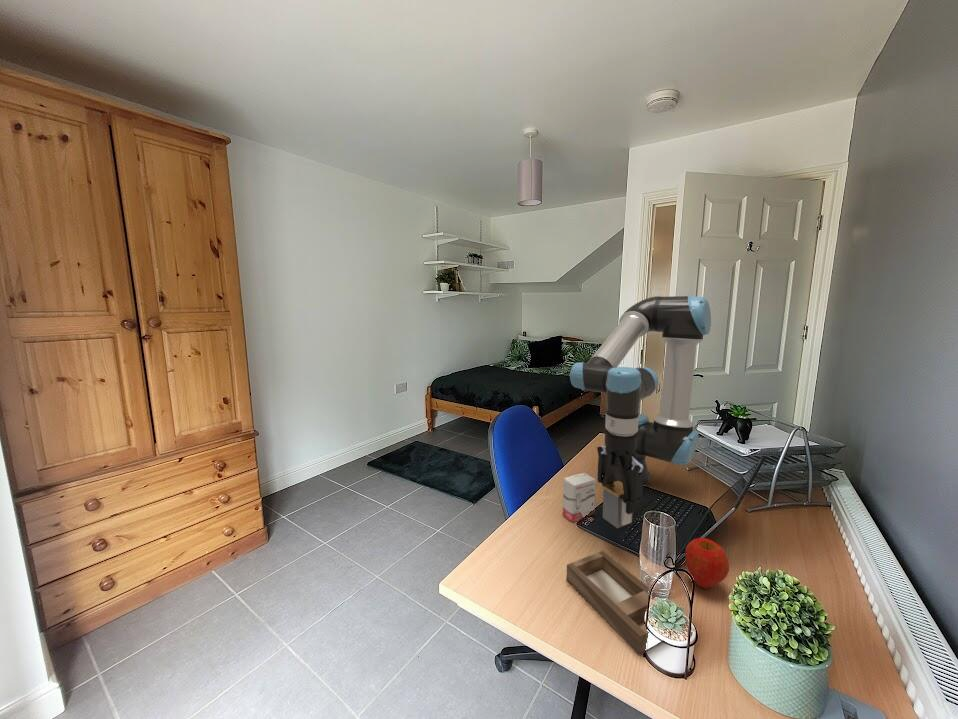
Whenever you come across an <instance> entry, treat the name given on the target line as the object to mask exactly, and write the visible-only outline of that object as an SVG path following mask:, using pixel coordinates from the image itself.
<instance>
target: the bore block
mask: <svg viewBox="0 0 958 719" xmlns="http://www.w3.org/2000/svg"><path fill="white" fill-rule="evenodd" d="M565 578H566V579H565V580H566V581H567V582H568V583H569V585H571V586H572V587H573V588H574V589H575V590H576V592H577V593H578V594H579V595H580V596H581V597H582V598H583V599H584V600H585V601H586V602H587V603H588V604H589V605H590V606H591V607H592V608H593V609H594V610H595V611H596V612H597V613H598V614H599V616H600V617H602V619H604V621H606V622H607V624H608V625H610V626H609V627H611V628H612V629H613V630H614V631H615V632H616V633H617V634H618V635H619V636H620V637H621V638H622V639H623V640H624V641H625V642H626V643H627V644H628V645H629V647H631V648H632V650H634V651H635V653H636V654H637V655H638V656H641V655H642V654H644V653H646V652H645V649H646V643H647V638H648V633H649V632H648V631H647V630H646V627H645V625H644V614H645V611H646V609H647V604H648V590H649V588H650V587H648V586H647V585H646V584H645V583H643V582H642V581H641V580H640V579H638V578H637V576H635V575H634V574H632V573H631V572H630V571H629V570H628V569H626V568H625V567H624V566H623V565H622V564H620V563H619V562H618V561H617V560H616V559H614V558H613V557H612V556H610V555H609V554H608V553H607V552H606V551H604V550H601V551H599V552H595V553H594V554H593V553H592V554H590V555H588V556H586V557H583V558H581V559H578V560H575V561H573V562H569V563H568V564H566V577H565ZM655 597H659V598H662V597H661V596H660V595H658V594H657V593H656V592H654V591H653V593H652V600H653V599H654V598H655Z"/></svg>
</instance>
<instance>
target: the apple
mask: <svg viewBox="0 0 958 719" xmlns="http://www.w3.org/2000/svg"><path fill="white" fill-rule="evenodd" d="M684 555H685V566H686V568H687V570H688V573H689V574H690V576H691V575H692V576H693V577H692V576H691V577H692V578H694V579H693V580H694V582H695V584H697V586H699V587H700V588H702V589H711V588H712V587H715V586H716V585H718V584H720V583H721V582H722V581H724V580H725V579H726V578H727V577H728V575H729V572H730V564H729V563H730V562H729V559H728V557H727V556H728V555H726V552H725V550H724V548H723V547H722V546H720V545H719V544H718V543H717V542H715V541H714V540H711V539H709V538H706V537H698V538H694V539H692V540H691V541H689V542H688V544H686V547H685V554H684Z"/></svg>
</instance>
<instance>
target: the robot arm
mask: <svg viewBox="0 0 958 719" xmlns="http://www.w3.org/2000/svg"><path fill="white" fill-rule="evenodd" d="M710 306H711V305H710V303H709V301H708V300H707V299H706V298H705V297H703V296H694V295H693V296H692V295H688V296H687V295H685V296H684V295H683V296H652V297H648V298H645V299H642V300H640V301H638V302H636V303H634V304H633V305H631V306H630V307H629V308H628V309H626V310H625V311H624V313H623V314H622V315H621V316H620V318H619V321H618V324H617V326H616V327H615V328H614V330H613V331H611V333H610V334H609V335H608V337H607V338H606V339H605V340H604V342H603V343H602V344H601V345H600V347H599V348H598V349H597V350H596V351H595V353H594V354H593V355H592V356H591V357H590V359H589V360H588V361H586V362H584V361H582V362H575V363H574V364H573V365H572V366H571V369H570V373H569V380H570V383H571V385H572V387H574V388H575V389H579V390H580V389H581V390H583V391H590V392H596V393H603V394H606V395H605V397H606V399H605V403H606V404H605V426H604V427H605V428H604V429H606V430H604V444H603V445H600V446H598V447H596V449H597V454H598V457H597V460H598V461H597V479H596V481H597V482H598V483H599V484H601V486H602V487H603V486H604V485H607V484H610V483H613V482H616V481H620V482H621V483H622V484H623V490H624V497H625V499H624V500H622V512H621V524H622V525H623V526H622V527H624V526H627V525H629V524H632V523H631V517H632V518H633V514H634V511H635V504H637V503H639V502H642V501H643V487H644V486H643V485H646V486H648V485H649V484H650V481H651V480H650V479H651V474H650V472H649V469H648V464H647V461H646V457H649V458H652V459H656V460H660V461H664V462H668V463H670V464H675V465H680V466H687V465H688V464H689V463H690V462H691V460H692V459H693V457H694V454H695V452H696V449H697V446H698V444H699V432H698V431H696V430H694V423H693V422H692V421H691V420H690V409H691V401H692V390H693V381H694V375H695V374H694V372H695V362H696V355H697V353H696V352H697V345H699V343H701V342H703V341H704V336H706V335H708V334H710V332H711V327H712V313H711V307H710ZM649 332H657V333H662V335H661V339H663V341H664V342H665V343H666V347H665V356H664V366H663V367H664V368H663V374H662V375H663V377H662V385H661V386H662V387H661V396H660V404H659V405H660V406H659V415H657V416H655V417H654V418H653V422H652V421H650V420H649V417H648V416H647V415H645V414H642V413H641V414H640V402H641V401H642V400H644V399H646V398H647V397H649V396H652V394H653V393H654V392H655V391H657V388H658V386H659V381H660V380H659V377H658V374H657V373H656V372H655V371H654V370H653V369H651V368H649V367H645V366H642V367H641V366H639V367H629V366H619V365H620V364H621V362H623V360H624V359H625V357H626V355H627V354H628V353H629V352H630V351H631V349H632V348H633V347H634V345H635V344H636V342H637V341H638V340H639V338H641V337H643V336H645V335H646V334H647V333H649ZM603 494H604V489H603ZM603 494H602V495H603ZM632 513H633V514H632ZM626 524H627V525H626Z"/></svg>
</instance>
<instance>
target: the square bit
mask: <svg viewBox="0 0 958 719" xmlns="http://www.w3.org/2000/svg"><path fill="white" fill-rule="evenodd" d="M602 489H603V490H604V492H603V493H604V494H602V496H603V498H602V500H603V501H602V519H604V520H605V521H606V522H608V523H609V524H611V525H612V526H613V527H614V528H616V529H619V528H622V527H624V526H623V525H622V524H621V512H622V500H624V499H625V497H624V490H623V484H622V483H621V482H620V481H616V482H613V483H610V484H607V485H604V486H602ZM633 514H634V512H633V513H632V515H633ZM632 523H633V516H632V517H631V523H630V524H632ZM627 525H628V524H626V525H625V526H627Z"/></svg>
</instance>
